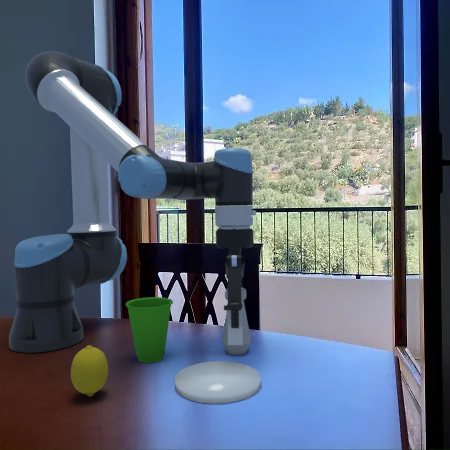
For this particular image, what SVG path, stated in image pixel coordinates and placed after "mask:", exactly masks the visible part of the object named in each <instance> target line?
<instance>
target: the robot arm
mask: <svg viewBox="0 0 450 450" xmlns="http://www.w3.org/2000/svg"><path fill="white" fill-rule="evenodd" d="M24 81H25V84H26V88H27V90H28V92H29V94H30V95H31V97H33V99H34V100H35V101H36V102H37V103H38V104H39V105H40V106H41V107H42V108H43V109H45V110H46V111H48V112H52V113H55V114H56V115H57V116H58V117H59V118H61V119H62V120H63V121H64V122H65V123H66V124H67V125H68V126H69V136H70V161H71V162H70V164H71V165H70V166H71V191H72V192H71V193H72V217H73V221H72V222H73V223H72V226H71V227H69V228H68V230H67V232H66V233H57V234H54V233H53V234H48V235H39V236H34V237H31V238H26V239H24V240H22V241H20V242H18V244H17V245H16V246H15V250H14V252H15V253H14V261H13V264H14V267H15V269H14V270H15V292H16V293H15V294H16V295H15V297H16V312H15V315H14V319H13V323H12V325H11V328H10V332H9V335H8V348H9V349H10V350H11V351H13V352H17V353H26V354H27V353H28V354H29V353H30V354H31V353H33V354H34V353H44V352H51V351H56V350H61V349H65V348H68V347H71V346H74V345H77V344H79V343H80V342H81V341H83V339H84V328H83V327H84V326H83V324H82V321H81V319H80V315H79V314H78V310H77V309H76V305H75V298H74V297H75V289H79V288H83V287H87V286H88V287H89V286H93V285H94V286H95V285H97V284H98V285H102V284H104V283H107V282H110V281H113V280H115V279H117V278H118V277H119V276H120V274H121V273H122V272H123V271H124V270H125V266H126V264H127V261H128V253H127V247H126V245H125V244H124V243H123V240H122V239H121V238H119V237H118V236H117V228H115V227H114V226H113V225H112V224H111V222H110V220H111V219H110V193H109V190H110V189H109V166H108V165H110V166H111V167H112V168H113V169H114V170H115V171H116V172H117V179H118V183H119V185H120V188H121V190H122V191H123V192H124V193H125V194H126V195H127V196H130V197H132V198H139V199H143V200H153V199H171V200H177V201H187V200H202V199H214V201H215V202H214V203H215V204H214V220H215V221H214V223H215V224H214V225H215V226H216V227H217V229H216V230H215V246H216V247H217V248H218V249H224V250H225V249H228V255H226V256H224V267H225V277H226V279H227V288H228V300H227V303H226V305H223V311H227V310H228V345H243V322H242V304H241V287H242V288H244V289H245V290H246V287H243V282H242V280H243V278H244V277H245V276H244V275H245V266H246V256H245V255H242V253H243V251H242V249H248V248H249V249H251V248H252V247H254V244H255V241H254V237H255V235H254V230H253V228H251V226H253V225H254V217H253V216H256V215H257V211H256V210H254V209H253V208H254V207H253V205H254V201H253V199H254V196H253V192H254V188H253V186H254V185H253V183H254V181H253V178H254V177H253V175H254V170H253V159H252V157H253V156H252V153H251V151H250V150H248V149H245V148H238V147H236V148H235V147H231V148H230V147H229V148H221V149H217V150H216V151H215V152H214V153H213V154H214V156H213V160H211V161H205V162H204V161H203V162H200V161H199V162H189V161H181V160H180V161H179V160H175V159H168V158H163V157H161V156H160V155H159V154H157V152H155V151H154V150H152V148H150V147H149V146H148V145H147V144H146V143H145V142H144V141H143V140H142V139H140V137H138V136H137V135H136V134H135V133H134V132H133V131H132V130H131V129H129V128H128V127H127V126H126V125H125V124H124V123H122V122H121V121H120V120H119V119H118V118H117V117H116V116H115V114H116V113H117V112H118V110H119V108H118V107H120V106H121V104H122V88H121V85H120V83H119V80H118V79H117V77H116V76H115V75H114V74H113V73H112V72H111V71H109V70H107V69H105V68H104V67H102V66H100V65H98V64H94V63H91V62H89V61H86V60H85V61H84V60H82V59H79V58H77V57H74V56H72V55H69V54H67V53H64V52H61V51H55V50H49V51H48V50H47V51H43V52H41V53H38V54H36V55H34V57H32V59H30V61H29V62H28V64H27V65H26V68H25V72H24Z"/></svg>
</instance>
